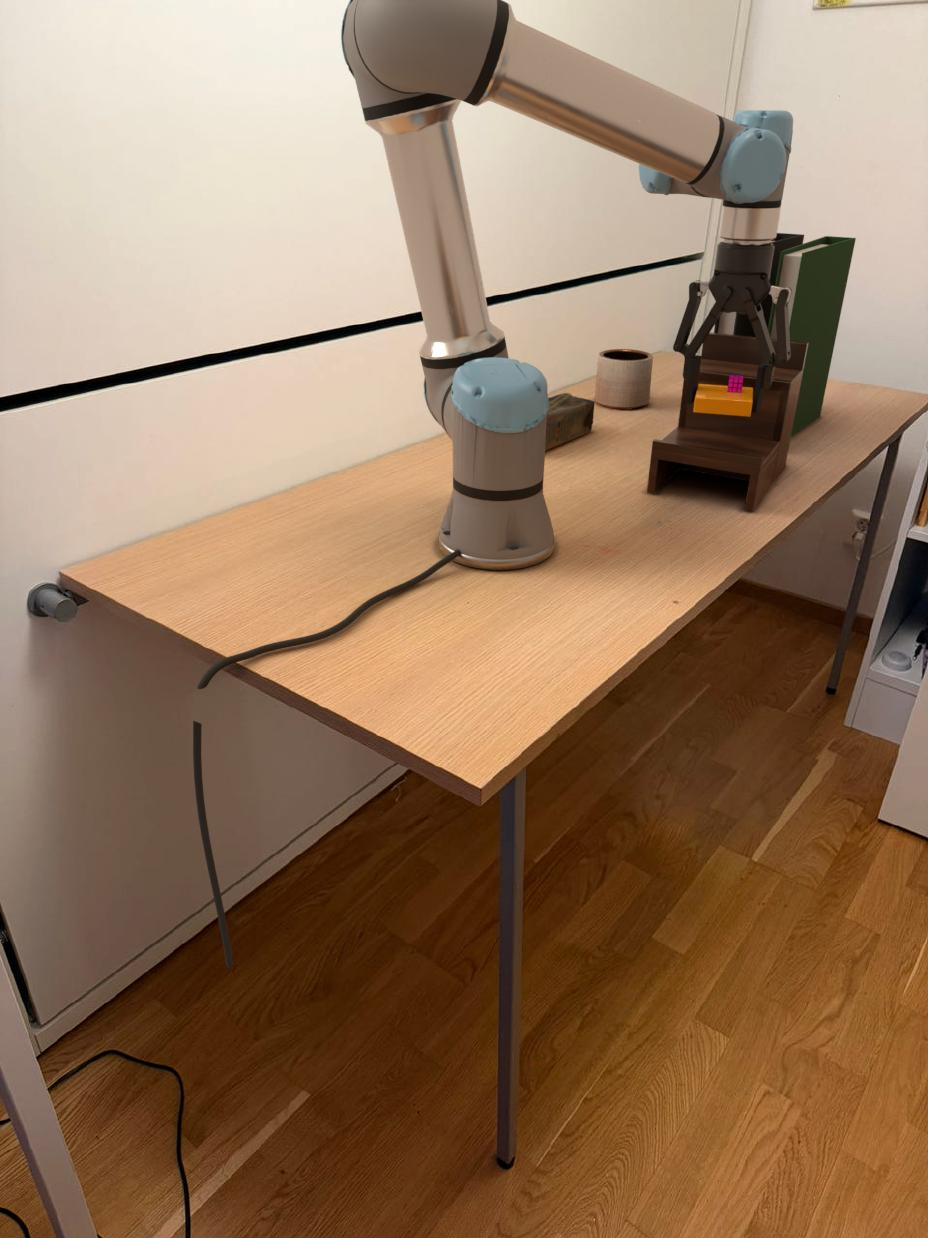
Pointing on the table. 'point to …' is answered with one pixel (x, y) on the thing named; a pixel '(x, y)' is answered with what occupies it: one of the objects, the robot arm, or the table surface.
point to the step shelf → (734, 421)
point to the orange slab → (724, 398)
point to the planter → (623, 378)
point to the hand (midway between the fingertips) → (722, 405)
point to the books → (805, 309)
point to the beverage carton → (567, 419)
